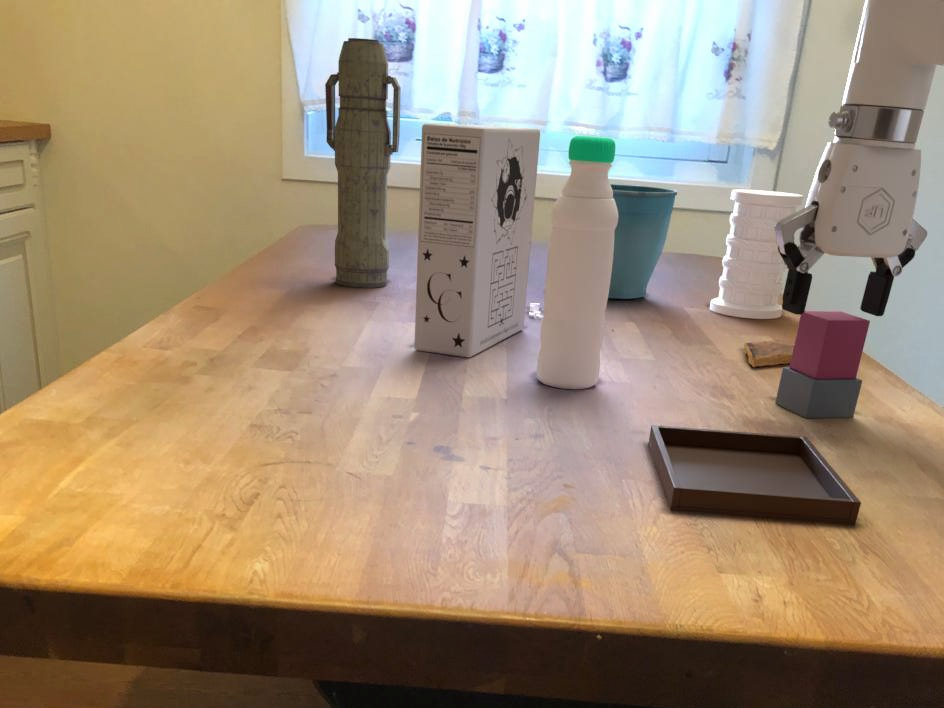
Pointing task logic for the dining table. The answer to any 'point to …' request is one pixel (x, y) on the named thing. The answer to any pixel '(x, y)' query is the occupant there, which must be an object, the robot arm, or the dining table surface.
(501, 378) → the dining table surface
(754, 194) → the decorative container
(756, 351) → the tan flat slab
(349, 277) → the thermos
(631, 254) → the flower pot
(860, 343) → the mulberry block
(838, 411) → the base block
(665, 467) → the tray
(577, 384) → the water bottle
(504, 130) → the cereal box
